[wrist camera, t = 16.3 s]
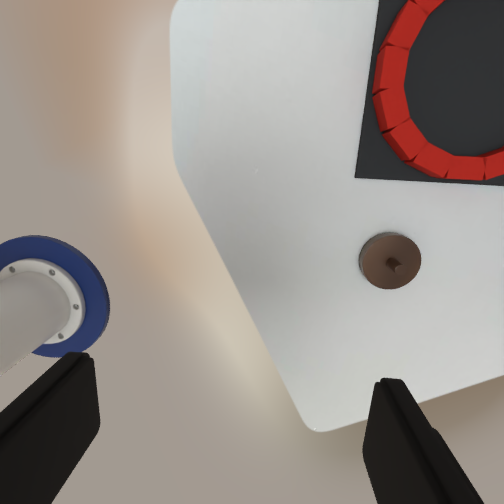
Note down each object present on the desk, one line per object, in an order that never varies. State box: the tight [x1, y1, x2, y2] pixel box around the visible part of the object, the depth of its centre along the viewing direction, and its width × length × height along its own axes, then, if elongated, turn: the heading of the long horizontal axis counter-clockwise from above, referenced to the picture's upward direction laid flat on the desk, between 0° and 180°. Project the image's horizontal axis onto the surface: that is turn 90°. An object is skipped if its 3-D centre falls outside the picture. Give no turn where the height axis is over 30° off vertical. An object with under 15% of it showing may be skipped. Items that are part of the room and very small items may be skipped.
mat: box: [355, 0, 504, 186], centre depth 29 cm, size 20×20×1 cm
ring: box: [372, 0, 504, 180], centre depth 28 cm, size 19×19×2 cm
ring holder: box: [359, 233, 421, 289], centre depth 33 cm, size 6×6×4 cm
